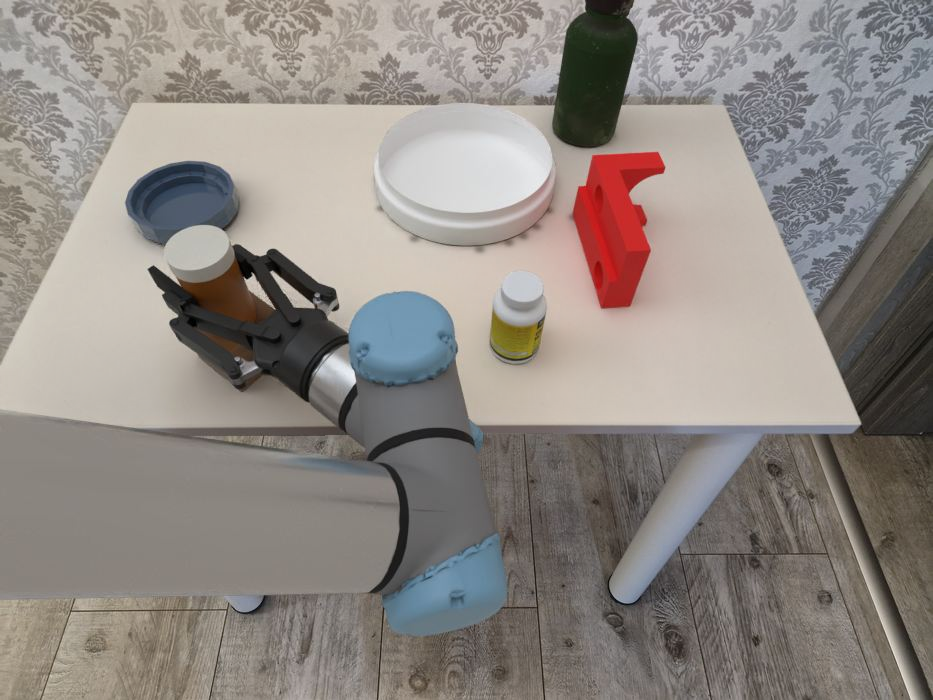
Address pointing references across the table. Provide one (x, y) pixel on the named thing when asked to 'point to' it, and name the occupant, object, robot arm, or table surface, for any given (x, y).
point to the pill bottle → (518, 317)
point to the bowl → (181, 199)
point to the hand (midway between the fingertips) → (182, 258)
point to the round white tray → (464, 174)
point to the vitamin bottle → (210, 271)
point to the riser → (237, 349)
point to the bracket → (615, 223)
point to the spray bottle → (594, 72)
